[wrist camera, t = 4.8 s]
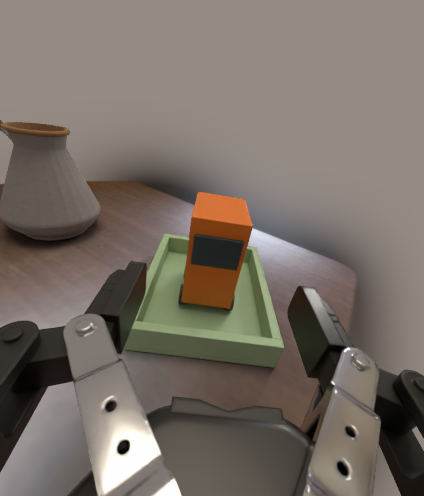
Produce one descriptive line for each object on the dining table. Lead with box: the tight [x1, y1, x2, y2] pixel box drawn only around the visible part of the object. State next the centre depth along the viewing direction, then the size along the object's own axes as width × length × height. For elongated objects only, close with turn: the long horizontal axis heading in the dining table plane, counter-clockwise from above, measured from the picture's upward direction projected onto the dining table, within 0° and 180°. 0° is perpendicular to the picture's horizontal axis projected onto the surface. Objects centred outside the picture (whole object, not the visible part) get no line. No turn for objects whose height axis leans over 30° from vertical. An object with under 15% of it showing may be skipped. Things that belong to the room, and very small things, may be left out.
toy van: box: [178, 192, 253, 311], centre depth 23 cm, size 7×5×10 cm
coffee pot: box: [0, 120, 100, 240], centre depth 31 cm, size 21×12×15 cm, turn 63°
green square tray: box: [124, 234, 284, 368], centre depth 25 cm, size 16×13×3 cm
